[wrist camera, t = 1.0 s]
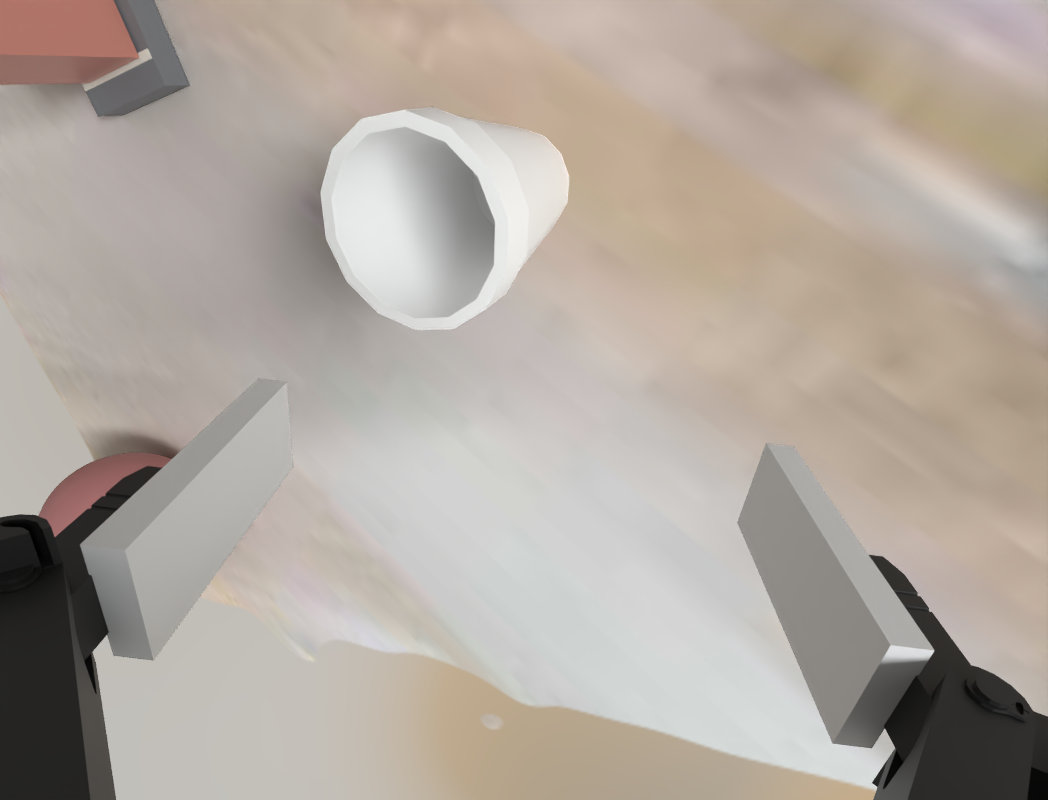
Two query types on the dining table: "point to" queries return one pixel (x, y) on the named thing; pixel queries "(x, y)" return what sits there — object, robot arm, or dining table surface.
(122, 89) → the track
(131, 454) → the balloon
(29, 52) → the plug
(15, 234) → the dining table surface
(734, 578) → the dining table surface
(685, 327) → the dining table surface
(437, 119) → the foam cup
